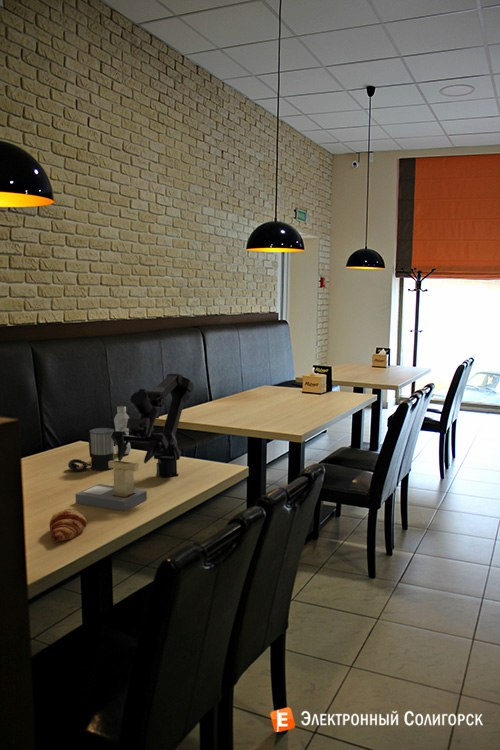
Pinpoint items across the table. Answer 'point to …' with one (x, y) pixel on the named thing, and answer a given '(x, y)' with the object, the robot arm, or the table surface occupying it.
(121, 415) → the plastic bottle
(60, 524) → the croissant
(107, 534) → the table surface
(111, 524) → the table surface
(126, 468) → the t key
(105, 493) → the board
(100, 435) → the milk frother
